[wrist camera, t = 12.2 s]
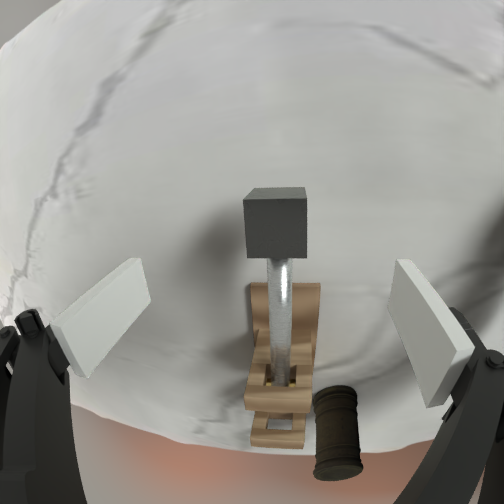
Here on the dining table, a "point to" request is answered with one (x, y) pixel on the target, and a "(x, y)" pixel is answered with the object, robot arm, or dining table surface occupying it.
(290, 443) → the bearing rig
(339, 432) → the container
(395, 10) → the dining table surface
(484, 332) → the dining table surface
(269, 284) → the shaft
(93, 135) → the dining table surface
